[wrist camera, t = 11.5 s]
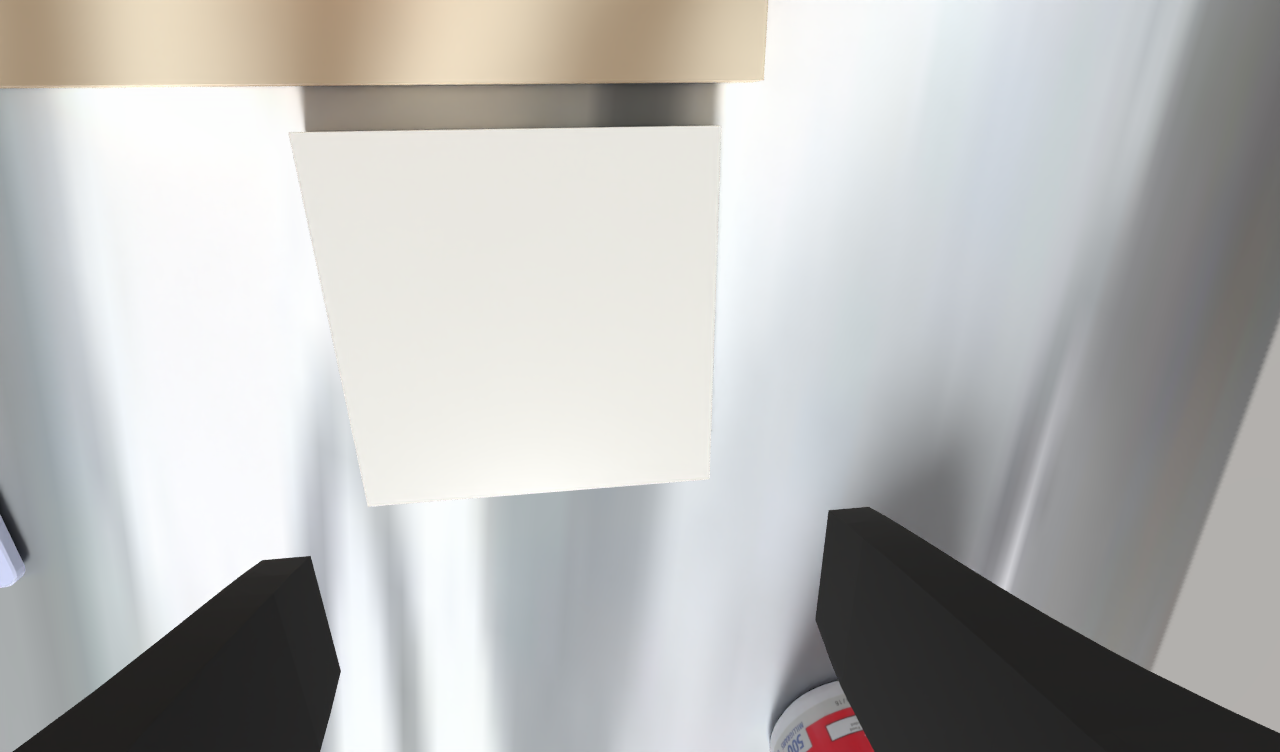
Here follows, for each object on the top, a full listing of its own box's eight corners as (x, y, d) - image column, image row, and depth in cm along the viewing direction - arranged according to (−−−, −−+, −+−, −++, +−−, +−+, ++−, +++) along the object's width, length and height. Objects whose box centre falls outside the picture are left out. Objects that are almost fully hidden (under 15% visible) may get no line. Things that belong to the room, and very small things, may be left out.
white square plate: (376, 487, 19) (367, 506, 18) (304, 131, 15) (288, 132, 14) (702, 462, 20) (709, 479, 19) (711, 125, 16) (721, 125, 15)
